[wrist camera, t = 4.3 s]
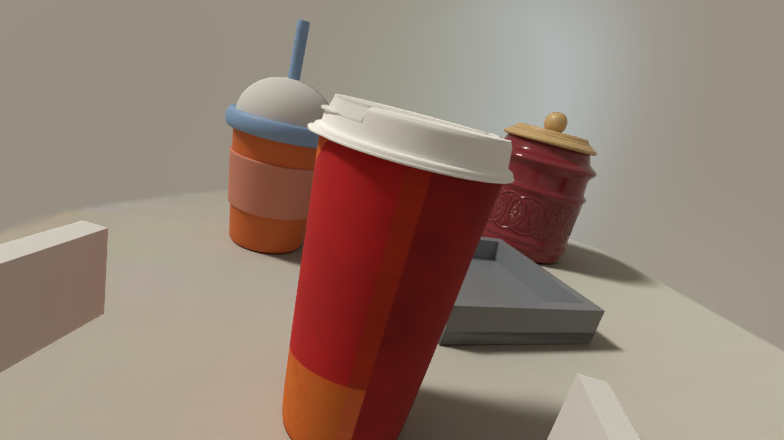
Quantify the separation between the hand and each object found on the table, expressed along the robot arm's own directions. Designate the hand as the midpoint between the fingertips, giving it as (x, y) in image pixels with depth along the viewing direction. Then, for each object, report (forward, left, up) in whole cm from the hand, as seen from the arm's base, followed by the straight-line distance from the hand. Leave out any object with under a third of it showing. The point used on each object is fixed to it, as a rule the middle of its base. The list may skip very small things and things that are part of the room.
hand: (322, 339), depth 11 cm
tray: (+17, -18, -8) cm, 26 cm away
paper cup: (+5, -3, -8) cm, 10 cm away
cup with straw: (+25, -1, -8) cm, 26 cm away
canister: (+31, -34, -8) cm, 47 cm away
